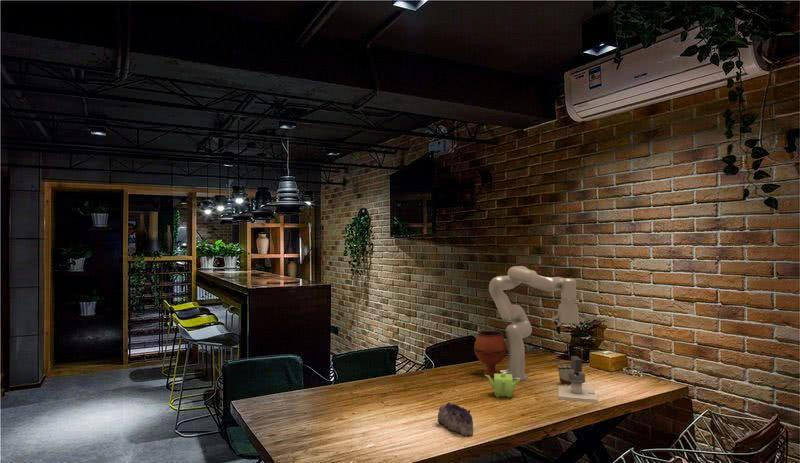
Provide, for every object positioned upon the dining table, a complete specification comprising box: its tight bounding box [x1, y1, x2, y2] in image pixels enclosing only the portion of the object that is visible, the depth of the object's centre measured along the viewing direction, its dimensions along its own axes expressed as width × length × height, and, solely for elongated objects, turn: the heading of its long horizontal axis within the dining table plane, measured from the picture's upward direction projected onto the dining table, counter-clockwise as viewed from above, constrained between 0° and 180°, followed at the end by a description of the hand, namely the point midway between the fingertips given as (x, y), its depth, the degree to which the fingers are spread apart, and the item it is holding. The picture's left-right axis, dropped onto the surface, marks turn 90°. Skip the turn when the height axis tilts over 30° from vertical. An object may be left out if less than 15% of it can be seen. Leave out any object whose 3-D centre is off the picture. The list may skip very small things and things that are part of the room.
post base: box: [557, 383, 599, 404], centre depth 235 cm, size 18×18×7 cm
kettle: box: [484, 373, 521, 399], centre depth 236 cm, size 15×14×11 cm
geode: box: [437, 402, 474, 438], centre depth 195 cm, size 20×12×10 cm, turn 28°
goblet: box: [473, 330, 508, 377], centre depth 275 cm, size 19×19×25 cm
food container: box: [556, 363, 574, 386], centre depth 256 cm, size 12×6×10 cm, turn 84°
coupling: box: [568, 355, 586, 384], centre depth 237 cm, size 9×8×12 cm
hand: (568, 333), depth 246 cm, fingers open, 9 cm apart
